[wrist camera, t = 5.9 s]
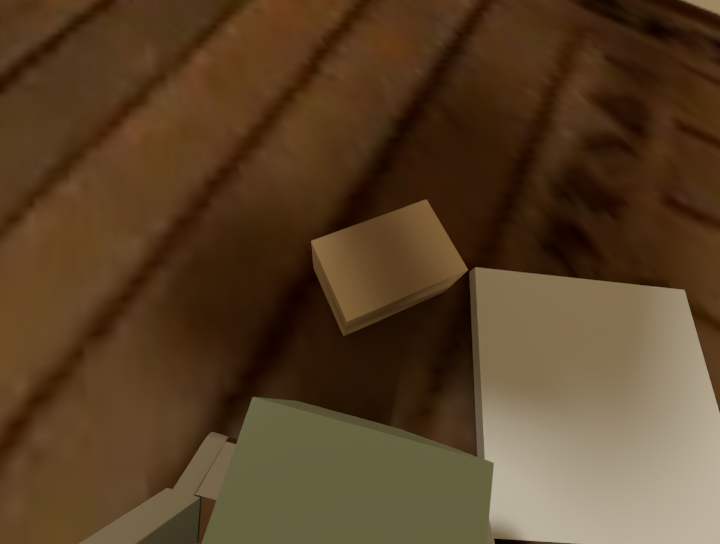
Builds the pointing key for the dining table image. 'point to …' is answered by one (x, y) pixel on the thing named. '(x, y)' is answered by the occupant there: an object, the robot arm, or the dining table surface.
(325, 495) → the sage block
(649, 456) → the beige mat
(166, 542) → the robot arm
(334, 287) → the oak block
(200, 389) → the dining table surface
